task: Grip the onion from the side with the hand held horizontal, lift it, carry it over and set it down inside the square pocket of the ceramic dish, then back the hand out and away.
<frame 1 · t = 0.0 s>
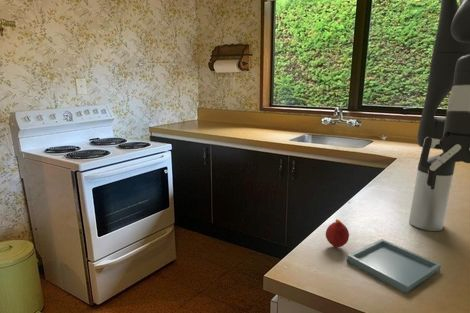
hand: (455, 192, 68), 22 cm above the worktop, tool pointing down, fingers open, 8 cm apart
dish: (392, 266, 82), on the worktop
onion: (335, 248, 90), on the worktop
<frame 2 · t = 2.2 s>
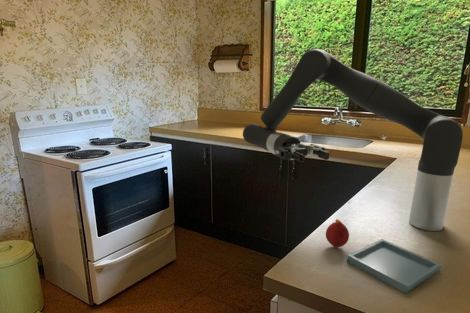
hand: (316, 157, 95), 22 cm above the worktop, tool horizontal, fingers open, 8 cm apart
nothing on the worktop moved.
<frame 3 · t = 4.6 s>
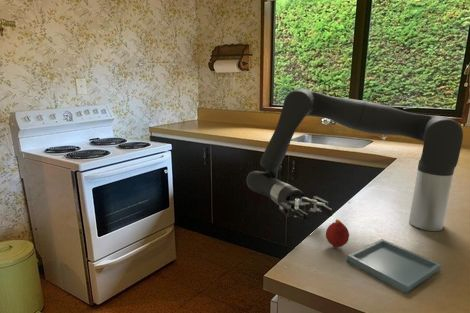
hand: (319, 215, 96), 6 cm above the worktop, tool horizontal, fingers open, 8 cm apart
nothing on the worktop moved.
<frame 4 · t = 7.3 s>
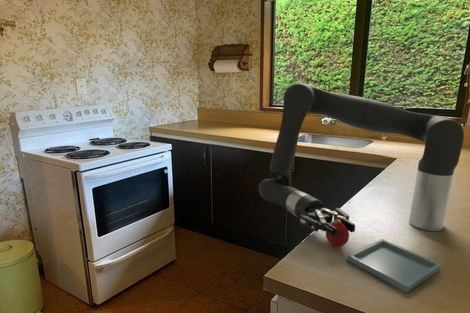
hand: (345, 230, 87), 6 cm above the worktop, tool horizontal, fingers closed on onion, 5 cm apart
onion: (335, 248, 90), on the worktop, touching gripper
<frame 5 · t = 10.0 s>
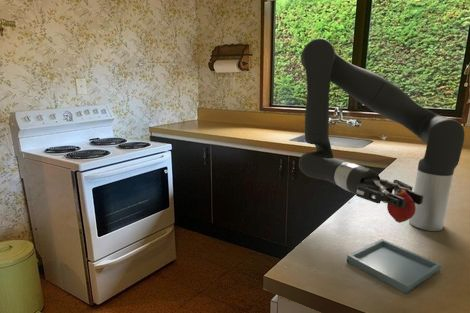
hand: (412, 202, 76), 18 cm above the worktop, tool horizontal, fingers closed on onion, 5 cm apart
onion: (398, 223, 80), point 11 cm above the worktop, touching gripper
when the fingers open (8 cm above the worktop, at t = 13.1 s): onion drops 1 cm, resting on dish.
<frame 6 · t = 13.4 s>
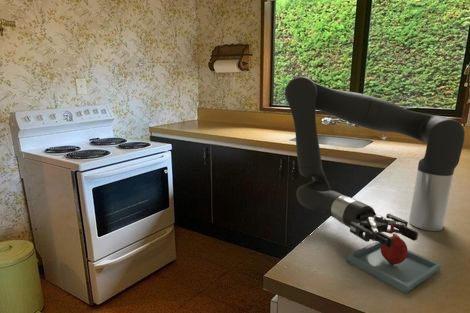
hand: (404, 240, 79), 8 cm above the worktop, tool horizontal, fingers open, 8 cm apart
onion: (392, 264, 82), resting on dish
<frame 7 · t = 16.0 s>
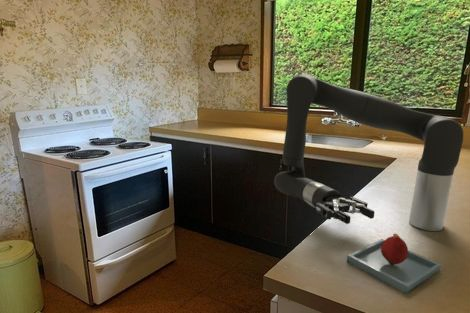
hand: (361, 217, 90), 8 cm above the worktop, tool horizontal, fingers open, 8 cm apart
nothing on the worktop moved.
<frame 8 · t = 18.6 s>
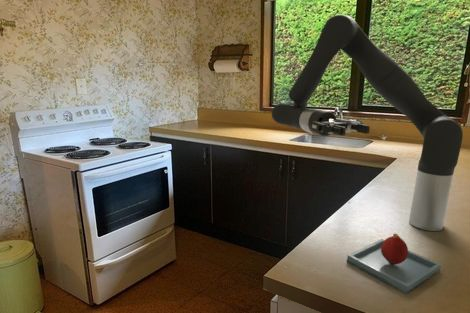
hand: (356, 130, 91), 30 cm above the worktop, tool horizontal, fingers open, 8 cm apart
nothing on the worktop moved.
at the end: onion inside the target area on the dish (0.1 cm from its centre), point 0.4 cm above the dish's base; the gripper is holding nothing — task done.
